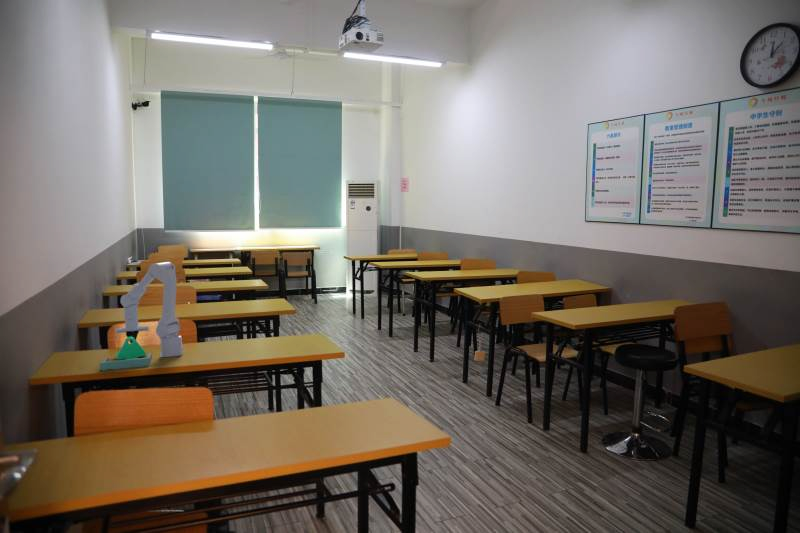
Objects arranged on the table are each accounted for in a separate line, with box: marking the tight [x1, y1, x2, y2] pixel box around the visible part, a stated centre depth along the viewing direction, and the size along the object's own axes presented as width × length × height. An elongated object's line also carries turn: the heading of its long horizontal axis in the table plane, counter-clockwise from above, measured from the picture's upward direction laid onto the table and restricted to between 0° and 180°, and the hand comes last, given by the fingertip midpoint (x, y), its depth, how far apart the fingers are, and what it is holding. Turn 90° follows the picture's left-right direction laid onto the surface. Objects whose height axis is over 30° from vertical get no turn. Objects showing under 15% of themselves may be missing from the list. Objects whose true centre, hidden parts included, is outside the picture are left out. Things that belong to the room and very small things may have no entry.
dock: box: [99, 352, 153, 371], centre depth 240 cm, size 19×13×4 cm
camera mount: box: [115, 336, 147, 361], centre depth 250 cm, size 12×8×10 cm, turn 121°
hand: (133, 346), depth 260 cm, fingers closed
